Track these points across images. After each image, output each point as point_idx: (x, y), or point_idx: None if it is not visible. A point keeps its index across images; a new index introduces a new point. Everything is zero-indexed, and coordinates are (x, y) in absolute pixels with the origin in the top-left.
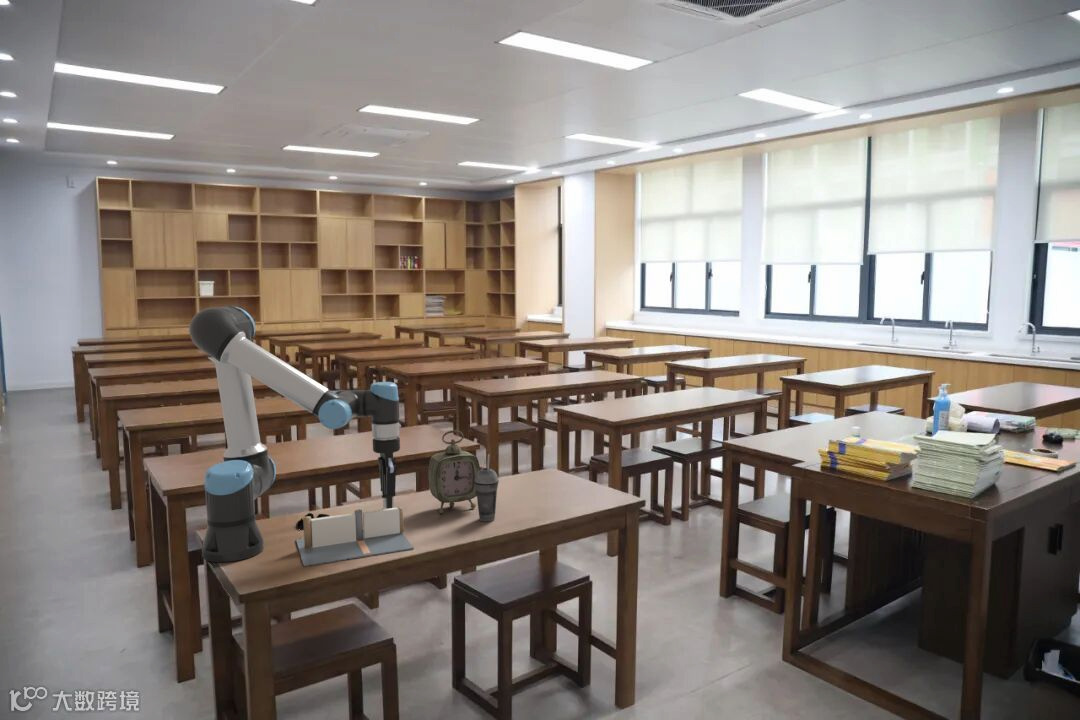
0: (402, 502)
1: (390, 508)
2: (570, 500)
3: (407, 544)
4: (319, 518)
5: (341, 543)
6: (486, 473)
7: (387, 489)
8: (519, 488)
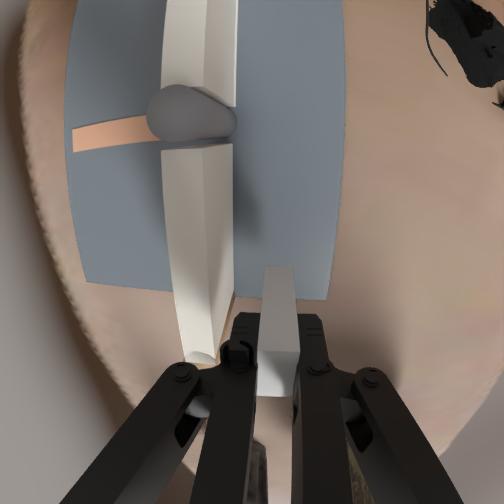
0: (488, 343)
1: (207, 326)
2: (275, 497)
3: (111, 276)
4: None
5: None
6: None
7: (134, 416)
8: None
